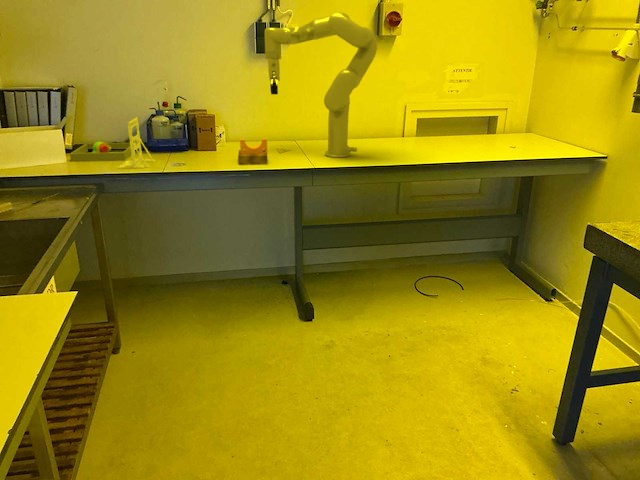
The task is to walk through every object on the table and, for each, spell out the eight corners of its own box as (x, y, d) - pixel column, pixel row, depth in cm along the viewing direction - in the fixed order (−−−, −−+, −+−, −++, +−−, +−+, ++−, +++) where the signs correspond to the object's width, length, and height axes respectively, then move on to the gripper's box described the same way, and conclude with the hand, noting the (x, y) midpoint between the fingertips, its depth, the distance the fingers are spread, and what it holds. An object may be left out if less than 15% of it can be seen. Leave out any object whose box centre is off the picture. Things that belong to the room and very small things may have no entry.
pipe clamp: (266, 151, 241) (266, 137, 238) (267, 153, 237) (266, 139, 234) (240, 152, 239) (239, 138, 236) (240, 154, 235) (240, 140, 232)
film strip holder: (125, 161, 237) (119, 117, 230) (155, 161, 238) (150, 117, 231) (115, 168, 224) (109, 122, 217) (148, 168, 225) (142, 122, 218)
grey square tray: (136, 149, 261) (135, 142, 260) (125, 160, 239) (124, 152, 237) (87, 150, 258) (86, 143, 257) (71, 161, 236) (69, 153, 235)
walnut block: (267, 157, 246) (266, 149, 245) (267, 164, 234) (267, 155, 233) (239, 158, 245) (239, 149, 243) (238, 164, 233) (238, 155, 231)
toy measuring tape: (116, 153, 252) (114, 140, 250) (82, 161, 237) (79, 147, 234) (107, 152, 255) (105, 139, 253) (72, 159, 240) (70, 145, 237)
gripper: (281, 56, 236) (282, 95, 243) (280, 55, 252) (281, 91, 259) (265, 56, 236) (266, 95, 242) (265, 55, 252) (266, 91, 258)
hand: (274, 93), depth 250 cm, fingers open, 9 cm apart
